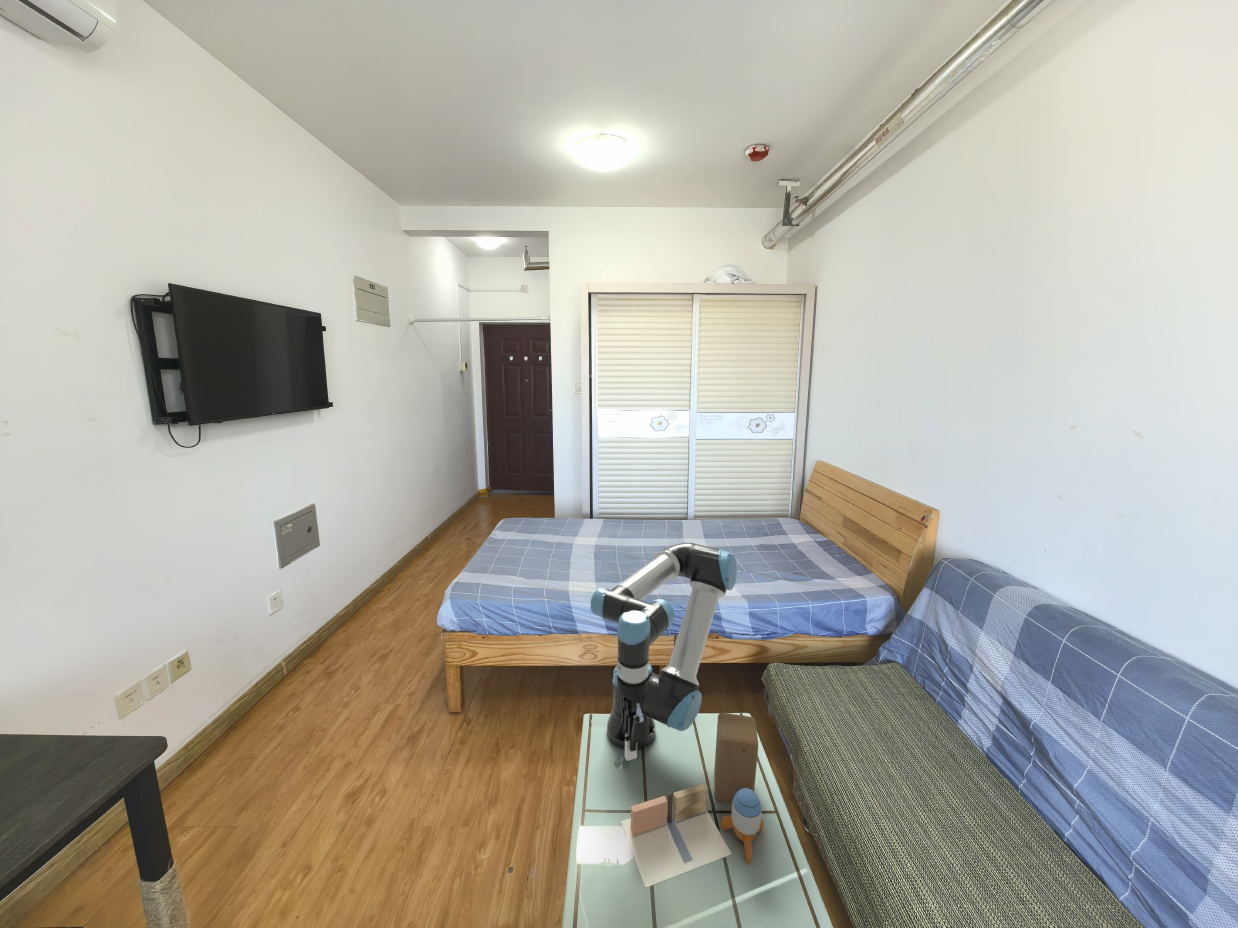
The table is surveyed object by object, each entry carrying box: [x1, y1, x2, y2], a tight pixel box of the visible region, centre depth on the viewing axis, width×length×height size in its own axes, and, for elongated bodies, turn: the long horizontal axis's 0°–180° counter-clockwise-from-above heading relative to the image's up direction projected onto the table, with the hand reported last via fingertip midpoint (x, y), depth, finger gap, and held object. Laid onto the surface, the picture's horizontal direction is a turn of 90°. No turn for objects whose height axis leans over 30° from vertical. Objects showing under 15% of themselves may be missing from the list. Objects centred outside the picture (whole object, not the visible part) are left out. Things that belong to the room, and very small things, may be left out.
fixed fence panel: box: [667, 782, 709, 823], centre depth 117 cm, size 11×2×9 cm, turn 109°
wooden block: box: [713, 712, 759, 805], centre depth 124 cm, size 10×10×20 cm
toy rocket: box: [720, 788, 764, 865], centre depth 112 cm, size 10×11×15 cm
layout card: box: [620, 805, 733, 888], centre depth 112 cm, size 16×22×1 cm
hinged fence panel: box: [630, 795, 668, 836], centre depth 114 cm, size 9×2×7 cm, turn 109°
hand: (630, 757), depth 117 cm, fingers closed
